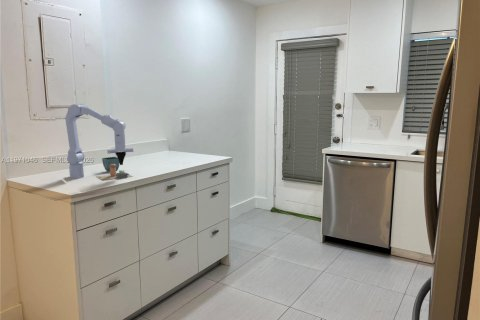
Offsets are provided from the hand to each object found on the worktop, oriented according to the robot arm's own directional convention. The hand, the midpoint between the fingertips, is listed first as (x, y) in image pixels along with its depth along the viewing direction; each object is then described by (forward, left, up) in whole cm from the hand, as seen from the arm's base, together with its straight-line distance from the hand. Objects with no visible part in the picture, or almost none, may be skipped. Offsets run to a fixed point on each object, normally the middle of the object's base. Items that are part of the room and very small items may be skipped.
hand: (121, 164), depth 214 cm
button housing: (0, 0, -8) cm, 8 cm away
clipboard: (-5, -3, -8) cm, 10 cm away
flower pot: (-25, +2, -9) cm, 26 cm away
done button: (0, 0, -6) cm, 6 cm away
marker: (-6, -3, -8) cm, 10 cm away
